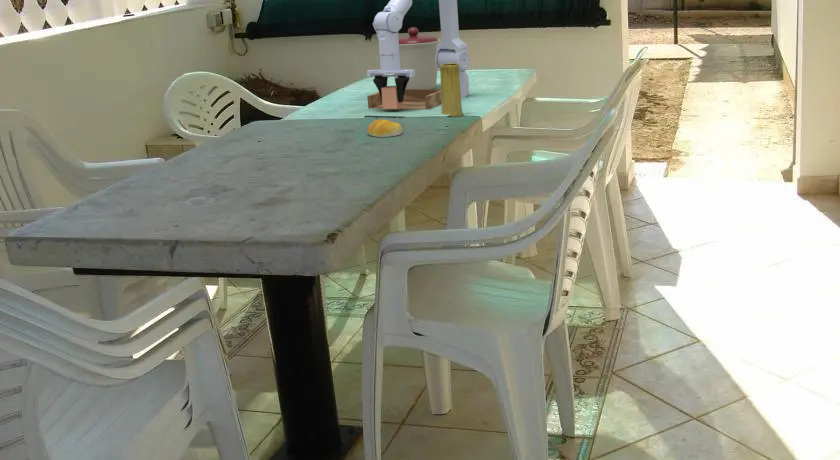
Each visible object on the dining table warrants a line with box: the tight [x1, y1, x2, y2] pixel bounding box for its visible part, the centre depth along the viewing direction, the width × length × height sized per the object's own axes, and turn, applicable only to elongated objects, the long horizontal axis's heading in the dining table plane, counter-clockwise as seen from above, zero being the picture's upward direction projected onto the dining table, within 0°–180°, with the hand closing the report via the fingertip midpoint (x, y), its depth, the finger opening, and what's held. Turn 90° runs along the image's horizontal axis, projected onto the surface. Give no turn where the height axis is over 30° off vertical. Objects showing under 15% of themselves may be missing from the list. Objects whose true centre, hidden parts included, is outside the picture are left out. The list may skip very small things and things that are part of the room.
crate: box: [366, 88, 442, 110], centre depth 267 cm, size 14×20×4 cm
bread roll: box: [367, 118, 403, 138], centre depth 227 cm, size 8×9×4 cm
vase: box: [439, 63, 464, 118], centre depth 247 cm, size 6×6×14 cm
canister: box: [393, 27, 442, 89], centre depth 298 cm, size 18×18×21 cm
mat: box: [364, 115, 405, 119], centre depth 257 cm, size 10×12×1 cm
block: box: [381, 85, 403, 110], centre depth 257 cm, size 4×4×6 cm
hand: (392, 101), depth 257 cm, fingers closed on block, 4 cm apart
